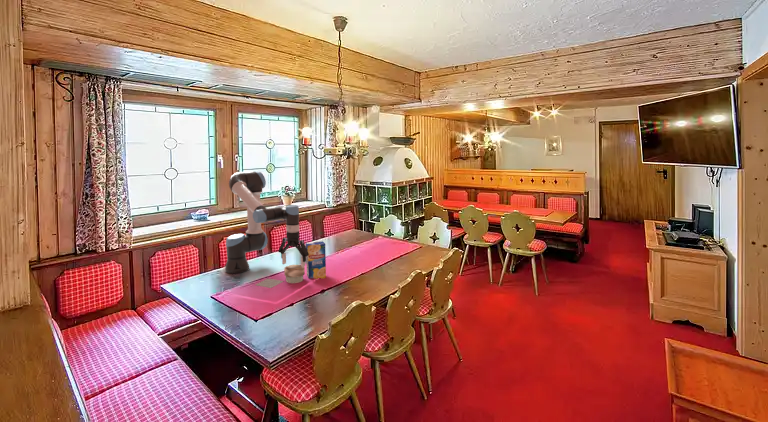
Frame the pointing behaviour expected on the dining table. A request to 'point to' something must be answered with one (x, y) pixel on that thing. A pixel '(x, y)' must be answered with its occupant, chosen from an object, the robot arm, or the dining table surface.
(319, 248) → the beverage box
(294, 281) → the bowl
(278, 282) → the mat
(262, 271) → the dining table surface
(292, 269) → the lid
